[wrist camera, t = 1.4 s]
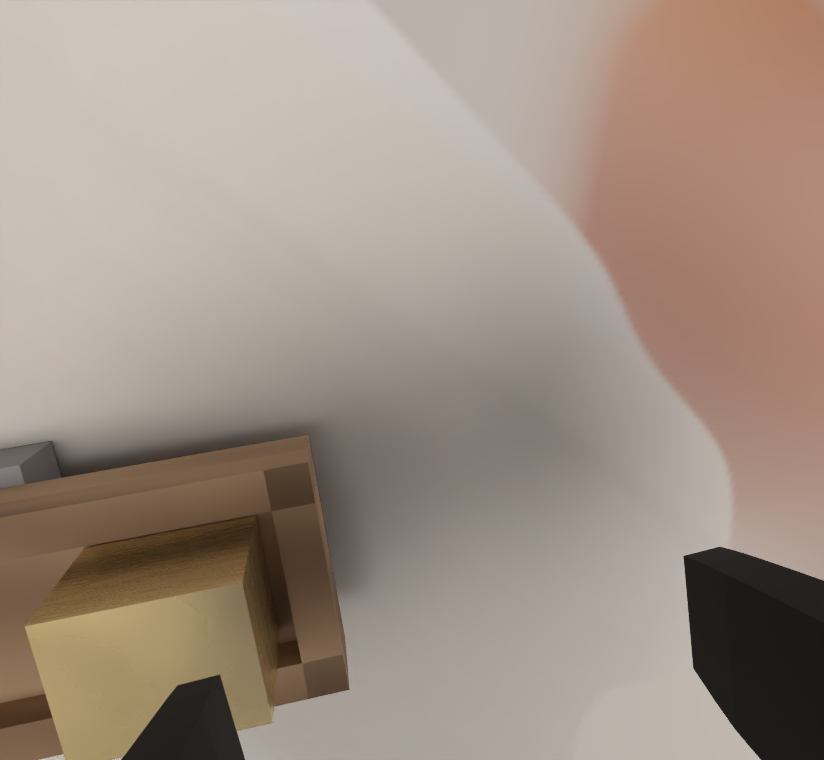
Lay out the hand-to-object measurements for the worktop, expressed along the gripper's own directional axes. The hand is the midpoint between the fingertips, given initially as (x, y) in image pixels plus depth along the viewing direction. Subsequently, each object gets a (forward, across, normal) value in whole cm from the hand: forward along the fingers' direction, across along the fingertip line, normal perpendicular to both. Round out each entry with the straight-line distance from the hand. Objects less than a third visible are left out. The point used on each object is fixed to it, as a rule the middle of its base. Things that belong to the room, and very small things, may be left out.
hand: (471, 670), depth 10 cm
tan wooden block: (+7, +6, +1) cm, 9 cm away
